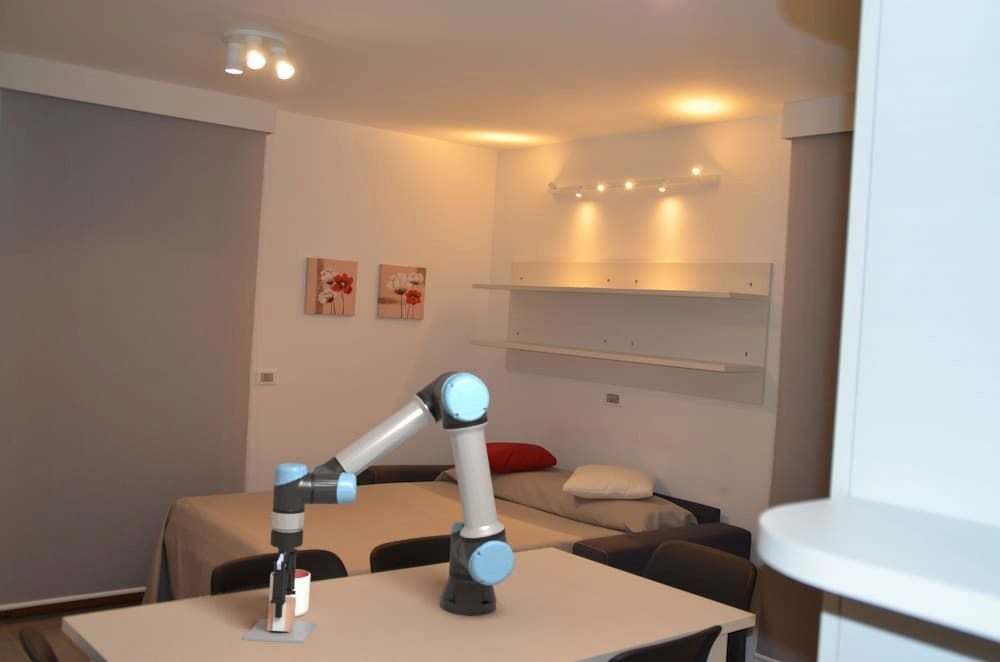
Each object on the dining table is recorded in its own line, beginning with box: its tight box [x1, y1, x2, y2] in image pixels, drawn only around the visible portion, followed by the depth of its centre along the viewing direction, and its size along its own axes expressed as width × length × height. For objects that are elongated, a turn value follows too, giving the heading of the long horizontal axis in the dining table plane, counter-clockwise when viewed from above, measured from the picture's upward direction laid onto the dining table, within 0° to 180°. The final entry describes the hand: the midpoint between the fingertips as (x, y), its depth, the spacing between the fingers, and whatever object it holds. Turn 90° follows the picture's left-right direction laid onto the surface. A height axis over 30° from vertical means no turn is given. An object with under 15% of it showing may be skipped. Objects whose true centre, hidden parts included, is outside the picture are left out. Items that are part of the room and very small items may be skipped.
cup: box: [268, 568, 312, 618], centre depth 222 cm, size 10×10×10 cm
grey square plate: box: [243, 618, 318, 644], centre depth 207 cm, size 14×14×7 cm
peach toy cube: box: [267, 597, 296, 632], centre depth 207 cm, size 5×5×7 cm
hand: (281, 626), depth 207 cm, fingers closed on peach toy cube, 5 cm apart
